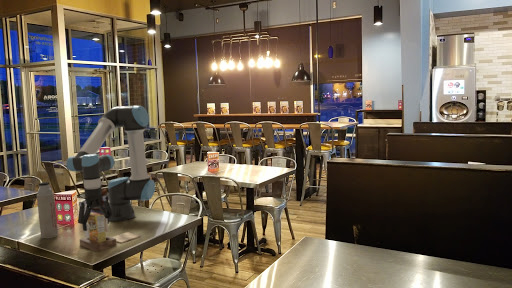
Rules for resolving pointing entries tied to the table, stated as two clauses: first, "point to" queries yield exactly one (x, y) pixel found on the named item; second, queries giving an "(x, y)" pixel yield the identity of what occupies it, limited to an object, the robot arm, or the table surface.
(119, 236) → the plate
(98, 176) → the robot arm
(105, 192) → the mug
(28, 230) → the table surface
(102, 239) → the candy box
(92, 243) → the collar
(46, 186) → the thermos bottle
